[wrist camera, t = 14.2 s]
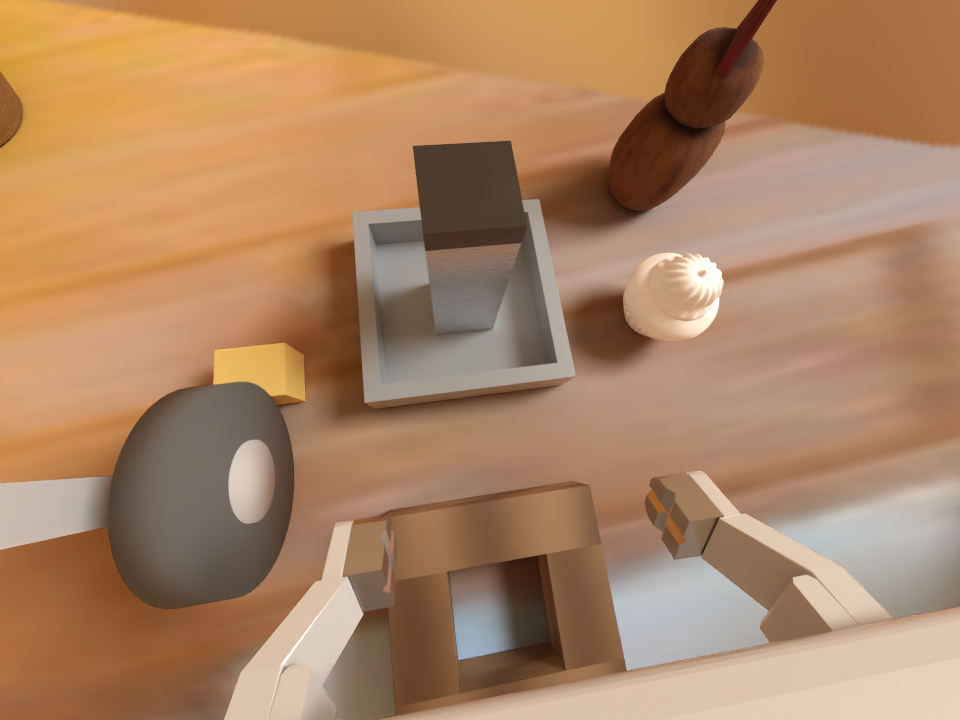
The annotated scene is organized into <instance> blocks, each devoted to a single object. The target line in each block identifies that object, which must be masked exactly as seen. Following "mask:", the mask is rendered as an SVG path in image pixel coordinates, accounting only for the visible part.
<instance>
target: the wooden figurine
mask: <svg viewBox="0 0 960 720" xmlns="http://www.w3.org/2000/svg"><path fill="white" fill-rule="evenodd" d="M776 1H777V0H758V2H757V3H756V4H755V6H754V7H753V8H752V9H751V11H750V12H749V13H748V15H747V16H746V17H745V18H744V20H743V21H742V22H741V24H740V25H739V26H738V28H737V29H734V28H727V27H722V28H714V29H711V30H709V31H707V32H705V33H703V34H702V35H700V36H699V37H698V38H697V39H696V40H695V41H694V42H693V43H692V44H691V45H690V46H689V47H688V48H687V50H686V51H685V52H684V53H683V54H682V55H681V57H680V58H679V60H678V62H677V63H676V65H675V67H674V69H673V70H672V72H671V74H670V76H669V79H668V81H667V84H666V88H665V93H663V94H661V95H659V96H657V97H655V98H654V99H653V100H651V101H650V102H649V103H648V104H647V105H646V106H645V107H644V108H643V109H642V110H641V111H640V112H639V113H638V114H637V115H636V116H635V117H634V119H633V120H632V121H631V123H630V124H629V125H628V127H627V128H626V129H625V131H624V132H623V133H622V135H621V136H620V138H619V139H618V141H617V143H616V145H615V147H614V149H613V152H612V156H611V160H610V167H609V189H610V191H611V193H612V194H613V196H614V198H615V199H616V200H617V201H618V202H619V204H620V205H622V206H624V207H626V208H628V209H631V210H638V211H644V210H648V209H652V208H654V207H656V206H658V205H660V204H661V203H663V202H665V201H666V200H668V199H669V198H670V197H672V196H673V195H674V194H676V193H677V192H678V191H679V190H680V189H681V188H682V187H684V186H685V185H686V184H687V183H688V182H689V181H690V180H691V179H692V178H693V177H694V176H695V175H696V174H697V173H698V172H699V171H700V170H701V168H702V167H703V166H704V165H705V164H706V162H707V161H708V159H709V158H710V157H711V155H712V154H713V152H714V151H715V149H716V148H717V146H718V144H719V142H720V140H721V138H722V136H723V134H724V128H725V121H726V120H728V119H729V118H731V117H732V116H733V114H734V113H735V112H736V111H737V110H738V109H739V108H740V106H741V105H742V104H743V103H744V102H745V101H746V99H747V98H748V97H749V95H750V94H751V93H752V92H753V90H754V88H755V86H756V84H757V82H758V80H759V78H760V75H761V72H762V69H763V64H764V58H763V53H762V50H761V49H760V47H759V45H758V43H757V42H756V41H755V40H754V39H753V36H754V35H755V33H756V32H757V30H758V28H759V27H760V25H761V24H762V22H763V21H764V19H765V17H766V16H767V14H768V13H769V12H770V10H771V9H772V7H773V5H774V4H775V2H776Z"/></svg>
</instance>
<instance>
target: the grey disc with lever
mask: <svg viewBox="0 0 960 720" xmlns="http://www.w3.org/2000/svg"><path fill="white" fill-rule="evenodd" d="M296 402H305V370H304V355H303V354H301V353H300V352H298V351H297V350H295V349H294V348H292V347H291V346H289V345H288V344H286V343H276V344H267V345H257V346H248V347H238V348H229V349H220V350H215V351H214V380H213V385H206V386H197V387H189V388H184V389H179V390H176V391H174V392H171V393H169V394H167V395H166V396H164V397H162V398H161V399H159V400H158V401H157V402H156V403H154V404H153V405H152V406H151V407H150V408H149V409H148V410H147V411H146V412H145V413H144V414H143V415H142V417H141V418H140V419H139V420H138V422H137V423H136V425H135V426H134V428H133V429H132V431H131V432H130V434H129V436H128V438H127V440H126V442H125V444H124V446H123V448H122V450H121V453H120V455H119V458H118V461H117V463H116V467H115V470H114V474H113V476H104V477H89V478H75V479H60V480H45V481H31V482H16V483H1V484H0V550H1V549H6V548H11V547H15V546H20V545H25V544H29V543H34V542H39V541H43V540H48V539H53V538H57V537H62V536H66V535H71V534H76V533H80V532H85V531H90V530H94V529H99V528H104V527H108V530H109V540H110V545H111V550H112V554H113V558H114V560H115V563H116V566H117V569H118V571H119V573H120V575H121V577H122V579H123V580H124V582H125V584H126V585H127V586H128V588H129V589H130V590H131V591H132V592H133V594H134V595H135V596H137V597H138V598H139V599H141V600H142V601H143V602H145V603H147V604H149V605H151V606H153V607H157V608H162V609H176V608H182V607H188V606H194V605H199V604H205V603H211V602H216V601H222V600H228V599H233V598H238V597H241V596H244V595H246V594H248V593H249V592H251V591H252V590H254V589H255V588H256V587H257V586H258V585H259V584H260V583H261V582H262V581H263V580H264V579H265V577H266V576H267V575H268V573H269V572H270V570H271V569H272V567H273V565H274V563H275V562H276V560H277V557H278V555H279V553H280V551H281V548H282V546H283V543H284V540H285V537H286V533H287V530H288V526H289V521H290V516H291V511H292V503H293V493H294V463H293V453H292V447H291V442H290V437H289V433H288V430H287V426H286V423H285V421H284V418H283V416H282V414H281V411H280V409H279V408H278V406H277V405H280V404H288V403H296Z"/></svg>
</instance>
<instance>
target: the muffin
mask: <svg viewBox="0 0 960 720" xmlns="http://www.w3.org/2000/svg"><path fill="white" fill-rule="evenodd" d="M721 276H722V273H721V271H720V270H719V269H717V268H716V264H715V263H711V262H710V261H709V258H708V257H705V258H702V257H701V255H699V254H695V255H694V256H693V255H691V254H688V253H686V254H684V255H683V256H682V255H679V254H675V253H662V254H657V255H654V256H651V257H649V258H647V259H645V260H643V261H642V262H640V263H639V264H638V265H637V266H636V267H635V269H634V270H633V271H632V273H631V274H630V276H629V279H628V281H627V284H626V289H625V290H624V297H623V307H624V317H625V318H626V322H628V325H630V327H631V328H632V329H634V331H637V333H639V334H642V335H645V336H648V337H651V338H654V339H660V340H664V341H665V340H669V341H680V340H686V339H690V338H693V337H695V336H697V335H699V334H700V333H702V332H703V331H704V330H705V329H706V328H707V327H708V326H709V325H710V324H711V323H712V321H713V320H714V318H715V316H716V314H717V311H718V306H719V296H720V295H721V291H722V287H723V279H722V277H721Z"/></svg>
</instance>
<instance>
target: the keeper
mask: <svg viewBox="0 0 960 720" xmlns="http://www.w3.org/2000/svg"><path fill="white" fill-rule="evenodd" d="M385 516H390V518H391V521H392V529H391V530H392V531H393V532H395V536H396V542H397V566H396V568H395V569H394V570H393V574H394V578H395V581H396V584H395V598H394V606H393V607H388V615H389V629H390V643H391V657H392V671H393V686H394V700H395V714H396V716H397V715H402V714H407V713H413V712H418V711H423V710H428V709H433V708H438V707H444V706H449V705H454V704H459V703H464V702H469V701H474V700H480V699H485V698H490V697H495V696H500V695H505V694H510V693H516V692H521V691H526V690H531V689H536V688H541V687H547V686H552V685H557V684H562V683H567V682H572V681H578V680H583V679H588V678H593V677H598V676H603V675H609V674H614V673H619V672H624V671H627V670H626V665H625V660H624V655H623V650H622V645H621V640H620V636H619V631H618V626H617V621H616V616H615V611H614V606H613V601H612V596H611V591H610V586H609V581H608V576H607V571H606V566H605V561H604V556H603V551H602V546H601V541H600V536H599V531H598V526H597V521H596V516H595V511H594V506H593V501H592V496H591V491H590V486H589V485H586V484H582V483H578V482H574V481H571V482H565V483H559V484H552V485H546V486H540V487H534V488H527V489H521V490H515V491H508V492H502V493H496V494H489V495H483V496H477V497H470V498H464V499H458V500H451V501H445V502H439V503H432V504H426V505H420V506H414V507H407V508H401V509H395V510H390V511H389V512H388V513H387V514H386V515H385ZM532 556H537V559H538V565H539V572H540V578H541V584H542V590H543V596H544V603H545V609H546V615H547V621H548V627H549V634H550V640H551V642H547V643H542V644H537V645H533V646H528V647H523V648H518V649H513V650H508V651H503V652H499V653H494V654H489V655H484V656H479V657H474V658H470V659H465V660H460V661H458V654H457V645H456V636H455V626H454V617H453V608H452V598H451V589H450V580H449V571H454V570H459V569H465V568H470V567H476V566H481V565H487V564H493V563H498V562H504V561H509V560H515V559H521V558H526V557H532Z"/></svg>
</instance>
